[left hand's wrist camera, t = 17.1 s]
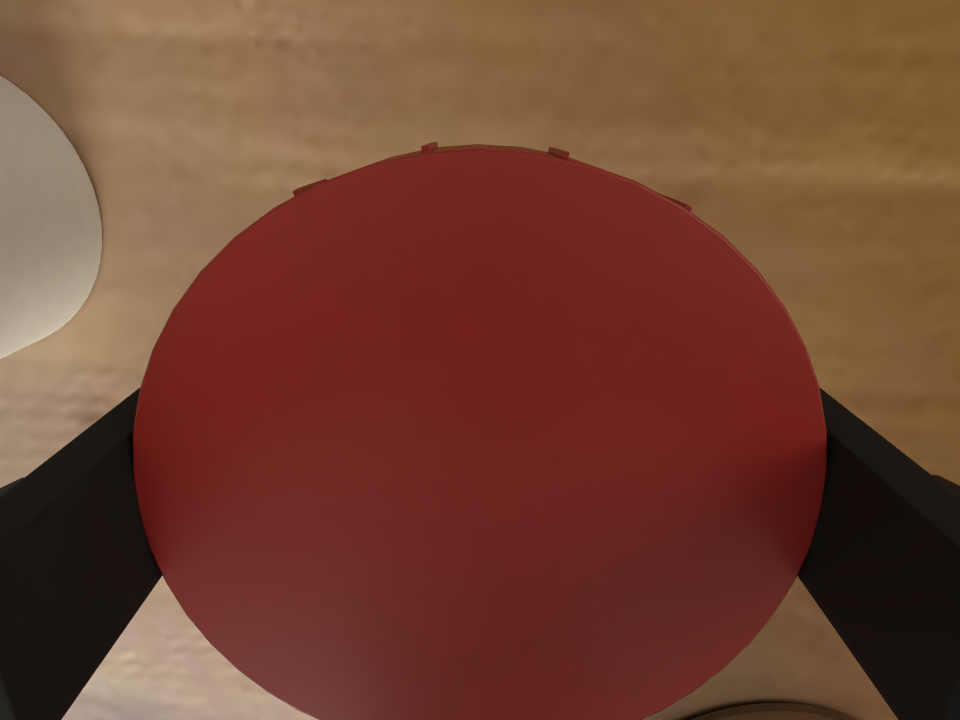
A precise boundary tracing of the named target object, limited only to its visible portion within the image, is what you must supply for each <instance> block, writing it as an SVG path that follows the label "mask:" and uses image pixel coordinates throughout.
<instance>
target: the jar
mask: <svg viewBox="0 0 960 720" xmlns="http://www.w3.org/2000/svg"><path fill="white" fill-rule="evenodd" d="M101 252H102V224H101V218H100V212H99V206H98V202H97V199H96V196H95V192H94V189H93V186H92V183H91V181H90V178H89V176H88V174H87V171H86V169H85V167H84V165H83V163H82V161H81V159H80V158H79V156H78V154H77V152H76V151H75V149H74V147H73V146H72V144H71V143H70V141H69V140H68V139H67V137H66V136H65V134H64V133H63V132H62V130H61V129H60V127H59V126H58V125H57V124H56V123H55V122H54V121H53V120H52V118H51V117H50V116H49V115H48V114H47V113H46V112H45V111H44V110H43V109H42V108H41V107H40V106H39V105H38V104H37V103H36V102H35V101H34V100H32V99H31V98H30V97H29V96H28V95H27V94H26V93H24V92H23V91H22V90H20V89H19V88H18V87H16V86H15V85H14V84H12V83H11V82H10V81H8V80H7V79H5V78H3V77H2V76H0V359H1V358H3V357H5V356H7V355H10V354H12V353H14V352H16V351H18V350H20V349H22V348H24V347H26V346H29V345H31V344H33V343H35V342H37V341H39V340H41V339H43V338H45V337H47V336H49V335H50V334H52V333H54V332H56V331H57V330H59V329H60V328H61V327H62V326H64V325H65V324H66V323H67V322H68V321H70V320H71V319H72V317H73V316H74V315H75V314H76V313H77V312H78V311H79V310H80V308H81V307H82V305H83V304H84V302H85V301H86V299H87V297H88V296H89V294H90V292H91V290H92V287H93V285H94V282H95V280H96V277H97V274H98V270H99V266H100V262H101Z"/></svg>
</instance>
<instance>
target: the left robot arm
mask: <svg viewBox="0 0 960 720" xmlns="http://www.w3.org/2000/svg"><path fill="white" fill-rule="evenodd" d="M139 391H140V388H139V389H138V390H136V391H135V392H134V393H132V394H131V395H130V396H129V397H127V398H126V399H125V400H124V401H122V402H121V403H120V404H118V405H117V406H116V407H115V408H113V409H112V410H111V411H109V412H108V413H107V414H106V415H104V416H103V417H102V418H101V419H99V420H98V421H97V422H95V423H94V424H93V425H92V426H90V427H89V428H88V429H86V430H85V431H84V432H83V433H81V434H80V435H79V436H77V437H76V438H75V439H74V440H72V441H71V442H70V443H69V444H67V445H66V446H65V447H63V448H62V449H61V450H60V451H58V452H57V453H56V454H54V455H53V456H52V457H51V458H49V459H48V460H47V461H46V462H44V463H43V464H42V465H40V466H39V467H38V468H37V469H35V470H34V471H33V472H31V473H30V474H29V475H28V476H26V477H25V478H20V479H18V480H16V481H14V482H12V483H10V484H8V485H6V486H4V487H2V488H0V720H61V719H62V718H63V716H64V715H65V714H66V712H67V711H68V709H69V708H70V706H71V705H72V704H73V702H74V701H75V699H76V698H77V696H78V695H79V694H80V692H81V691H82V689H83V688H84V686H85V685H86V684H87V682H88V681H89V679H90V678H91V676H92V675H93V674H94V672H95V671H96V669H97V668H98V666H99V665H100V664H101V662H102V661H103V659H104V658H105V656H106V655H107V654H108V652H109V651H110V649H111V648H112V646H113V645H114V644H115V642H116V641H117V639H118V638H119V636H120V635H121V634H122V632H123V631H124V629H125V628H126V626H127V625H128V624H129V622H130V621H131V619H132V618H133V616H134V615H135V614H136V612H137V611H138V609H139V608H140V606H141V605H142V604H143V602H144V601H145V599H146V598H147V596H148V595H149V594H150V592H151V591H152V589H153V588H154V586H155V585H156V584H157V582H158V581H159V579H160V578H161V576H162V573H161V570H160V568H159V566H158V564H157V562H156V560H155V557H154V555H153V553H152V551H151V549H150V546H149V543H148V539H147V536H146V533H145V530H144V526H143V521H142V517H141V513H140V509H139V504H138V499H137V494H136V489H135V482H134V475H133V429H134V423H135V417H136V410H137V404H138V398H139ZM820 394H821V400H822V406H823V412H824V418H825V424H826V436H827V473H826V480H825V487H824V493H823V498H822V503H821V508H820V513H819V517H818V521H817V525H816V529H815V532H814V536H813V539H812V543H811V546H810V548H809V550H808V553H807V555H806V557H805V559H804V562H803V564H802V566H801V568H800V570H799V573H798V575H797V576H798V577H799V578H800V580H801V581H802V583H803V584H804V586H805V587H806V588H807V590H808V591H809V593H810V594H811V596H812V597H813V598H814V600H815V601H816V603H817V604H818V606H819V607H820V608H821V610H822V611H823V613H824V614H825V616H826V617H827V618H828V620H829V621H830V623H831V624H832V626H833V627H834V628H835V630H836V631H837V633H838V634H839V636H840V637H841V638H842V640H843V641H844V643H845V644H846V646H847V647H848V648H849V650H850V651H851V653H852V654H853V656H854V657H855V658H856V660H857V661H858V663H859V664H860V666H861V667H862V668H863V670H864V671H865V673H866V674H867V676H868V677H869V678H870V680H871V681H872V683H873V684H874V686H875V687H876V688H877V690H878V691H879V693H880V694H881V696H882V697H883V698H884V700H885V701H886V703H887V704H888V706H889V707H890V708H891V710H892V711H893V713H894V714H895V716H896V717H897V718H898V720H960V486H959V485H957V484H955V483H953V482H951V481H949V480H947V479H945V478H942V477H940V476H938V475H931V474H929V473H928V472H927V471H926V470H924V469H923V468H922V467H920V466H919V465H918V464H917V463H915V462H914V461H913V460H911V459H910V458H909V457H908V456H906V455H905V454H904V453H903V452H901V451H900V450H899V449H897V448H896V447H895V446H894V445H892V444H891V443H890V442H888V441H887V440H886V439H885V438H883V437H882V436H881V435H879V434H878V433H877V432H876V431H874V430H873V429H872V428H871V427H869V426H868V425H867V424H865V423H864V422H863V421H862V420H860V419H859V418H858V417H856V416H855V415H854V414H853V413H851V412H850V411H849V410H848V409H846V408H845V407H844V406H842V405H841V404H840V403H839V402H837V401H836V400H835V399H833V398H832V397H831V396H830V395H828V394H827V393H826V392H825V391H823V390H822V389H821V388H820ZM691 720H857V719H855V718H852V717H850V716H847V715H845V714H842V713H840V712H836V711H833V710H829V709H826V708H821V707H816V706H811V705H803V704H795V703H760V704H751V705H743V706H737V707H731V708H726V709H722V710H718V711H715V712H711V713H708V714H705V715H702V716H699V717H696V718H693V719H691Z"/></svg>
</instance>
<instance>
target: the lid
mask: <svg viewBox="0 0 960 720" xmlns="http://www.w3.org/2000/svg"><path fill="white" fill-rule="evenodd" d="M421 148H422V150H421V151H417V152H412V153H407V154H403V155H398V156H393V157H390V158H387V159H385V160H382V161H379V162H376V163H373V164H371V165H368V166H365V167H362V168H360V169H357V170H354V171H351V172H349V173H346V174H343V175H341V176H338V177H335V178H332V179H330V180H327V179H324V180H321V181H318V182H315V183H312V184H309V185H306V186H303V187H301V188H298V189H296V190H294V191H293V194H294V195H295V197H293V198H291V199H290V200H288V201H286V202H284V203H282V204H280V205H278V206H277V207H275V208H273V209H272V210H271V211H269V212H268V213H267V214H265V215H264V216H263V217H261V218H260V219H259V220H257V221H256V222H255V223H253V224H252V225H251V226H249V227H248V228H246V229H245V230H244V231H242V232H241V233H240V234H238V235H237V236H236V237H234V238H233V239H232V240H231V241H230V242H229V243H228V244H227V245H226V246H225V247H224V249H223V250H222V251H221V252H220V253H219V254H218V255H217V256H216V257H215V258H214V259H213V260H212V261H211V262H210V263H209V264H208V265H207V266H206V267H205V268H204V269H203V270H202V271H201V272H200V273H199V274H198V276H197V277H196V279H195V280H194V281H193V283H192V284H191V285H190V287H189V288H188V290H187V291H186V292H185V294H184V295H183V297H182V298H181V299H180V301H179V302H178V303H177V305H176V306H175V308H174V309H173V311H172V313H171V315H170V317H169V319H168V321H167V323H166V324H165V326H164V328H163V330H162V332H161V334H160V336H159V338H158V340H157V342H156V344H155V346H154V348H153V351H152V354H151V357H150V360H149V363H148V366H147V369H146V372H145V375H144V378H143V381H142V384H141V387H140V391H139V398H138V404H137V410H136V417H135V423H134V429H133V475H134V482H135V489H136V494H137V499H138V504H139V509H140V513H141V517H142V521H143V526H144V530H145V533H146V536H147V539H148V543H149V546H150V549H151V551H152V553H153V555H154V557H155V560H156V562H157V564H158V566H159V568H160V570H161V573H162V575H163V577H164V579H165V581H166V583H167V585H168V586H169V588H170V589H171V591H172V593H173V594H174V596H175V597H176V599H177V600H178V602H179V604H180V605H181V607H182V608H183V610H184V611H185V613H186V615H187V616H188V617H189V618H190V619H191V621H192V622H193V623H194V624H195V625H196V627H197V628H198V629H199V630H200V631H201V633H202V634H203V635H204V636H205V638H206V639H207V640H208V641H209V642H210V644H211V645H213V646H214V647H215V648H216V649H217V650H218V651H219V652H220V653H221V654H222V655H223V656H224V657H225V658H226V659H227V660H228V661H229V662H230V663H232V664H233V665H234V666H235V667H236V668H237V669H238V670H239V671H241V672H242V673H243V674H245V675H246V676H247V677H248V678H250V679H251V680H252V681H254V682H255V683H256V684H258V685H259V686H260V687H262V688H263V689H264V690H266V691H267V692H269V693H270V694H272V695H274V696H275V697H277V698H279V699H280V700H282V701H284V702H285V703H287V704H289V705H290V706H292V707H294V708H295V709H297V710H299V711H301V712H303V713H305V714H307V715H309V716H311V717H314V718H316V719H318V720H642V719H644V718H646V717H649V716H651V715H653V714H655V713H657V712H659V711H661V710H663V709H665V708H666V707H668V706H670V705H671V704H673V703H675V702H676V701H678V700H680V699H681V698H683V697H685V696H686V695H688V694H690V693H691V692H693V691H694V690H696V689H697V688H698V687H700V686H701V685H702V684H704V683H705V682H706V681H708V680H709V679H710V678H712V677H713V676H714V675H715V674H717V673H718V672H719V671H721V670H722V669H723V668H724V667H725V666H726V665H728V664H729V663H730V662H731V661H732V660H733V659H734V658H735V657H736V656H737V655H738V654H739V653H740V652H741V651H742V650H743V649H744V648H745V647H746V646H747V645H748V644H749V643H750V642H751V641H752V640H753V639H754V638H755V636H756V635H757V634H758V633H759V632H760V630H761V629H762V628H763V627H764V625H765V624H766V623H767V622H768V621H769V619H770V618H771V617H772V616H773V614H774V613H775V612H776V610H777V608H778V607H779V605H780V604H781V602H782V600H783V599H784V597H785V596H786V594H787V592H788V591H789V589H790V588H791V586H792V584H793V583H794V581H795V579H796V577H797V575H798V573H799V570H800V568H801V566H802V564H803V562H804V559H805V557H806V555H807V553H808V550H809V548H810V546H811V543H812V539H813V536H814V532H815V529H816V525H817V521H818V517H819V513H820V508H821V503H822V498H823V493H824V487H825V480H826V473H827V436H826V424H825V418H824V412H823V406H822V400H821V394H820V388H819V385H818V382H817V379H816V376H815V373H814V370H813V367H812V364H811V361H810V358H809V355H808V352H807V349H806V346H805V344H804V343H803V341H802V339H801V337H800V335H799V333H798V331H797V329H796V327H795V325H794V323H793V322H792V320H791V318H790V316H789V314H788V312H787V310H786V308H785V306H784V305H783V304H782V302H781V301H780V300H779V298H778V297H777V296H776V294H775V293H774V292H773V290H772V289H771V288H770V286H769V285H768V283H767V282H766V281H765V279H764V278H763V277H762V275H761V274H760V273H759V271H758V270H757V269H756V268H755V267H754V266H753V265H752V264H751V263H750V262H749V261H748V260H747V259H746V258H745V257H744V256H743V255H742V254H741V253H740V252H739V251H738V250H737V249H736V248H735V247H734V246H733V245H732V244H731V243H730V242H729V241H728V240H727V239H726V238H725V237H724V236H723V235H721V234H720V233H719V232H717V231H716V230H715V229H713V228H712V227H710V226H709V225H708V224H706V223H705V222H704V221H702V220H701V219H699V218H698V217H697V216H695V215H694V214H693V213H691V212H690V211H691V209H692V207H690V206H689V205H687V204H685V203H682V202H680V201H677V200H675V199H672V198H669V197H667V196H664V195H661V194H659V193H657V192H655V191H653V190H651V189H649V188H647V187H645V186H644V185H642V184H640V183H638V182H636V181H633V180H630V179H627V178H625V177H622V176H619V175H616V174H614V173H611V172H608V171H605V170H603V169H600V168H597V167H594V166H591V165H589V164H586V163H583V162H580V161H577V160H575V159H572V158H569V152H566V151H563V150H560V149H556V148H552V147H549V150H548V152H543V151H538V150H533V149H529V148H524V147H512V146H496V145H481V144H476V145H463V146H449V147H438V145H437V142H434V143H429V144H427V145H424V146H421Z"/></svg>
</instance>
